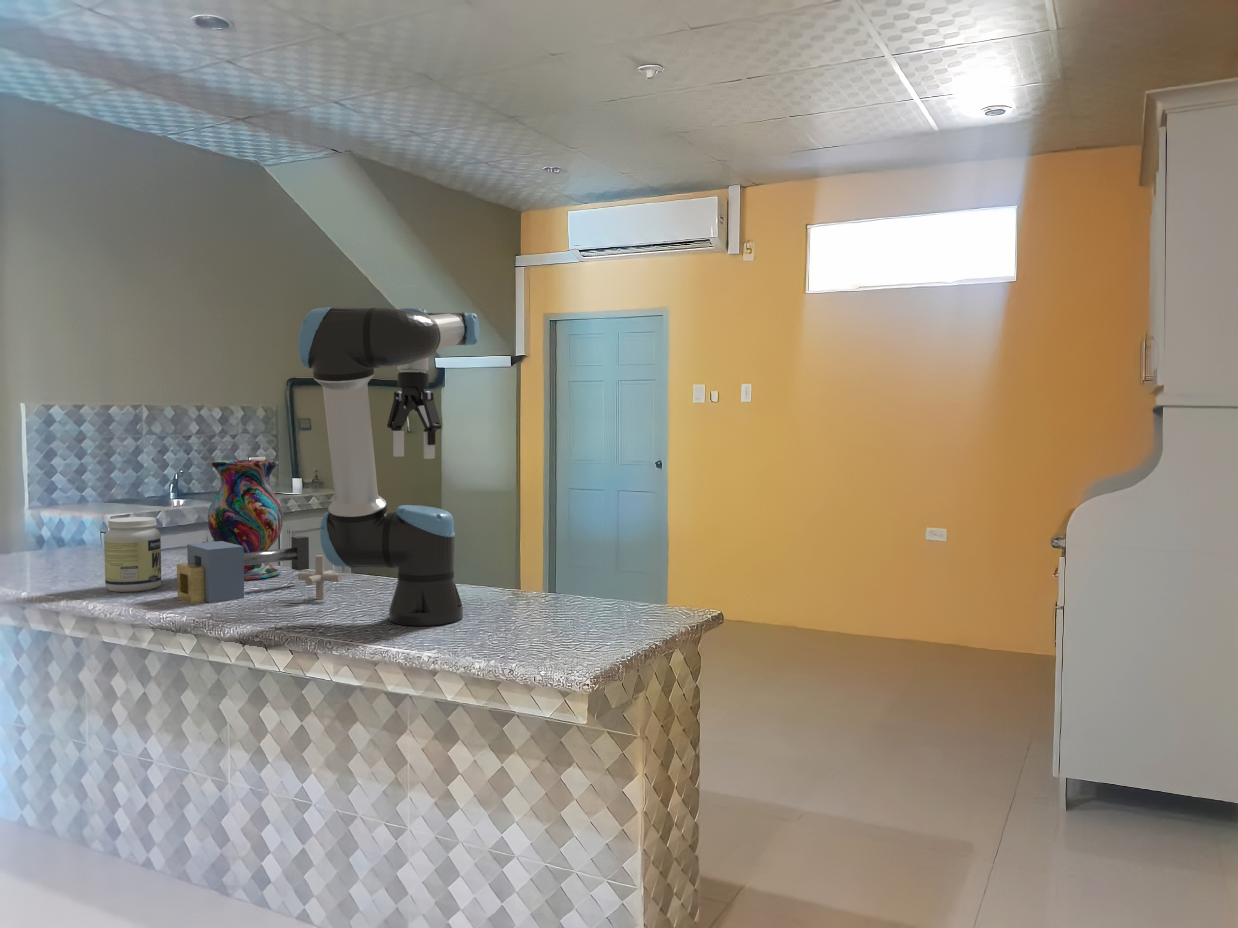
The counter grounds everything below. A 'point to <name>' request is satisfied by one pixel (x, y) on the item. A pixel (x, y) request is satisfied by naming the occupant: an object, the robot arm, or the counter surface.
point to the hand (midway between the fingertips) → (413, 457)
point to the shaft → (283, 554)
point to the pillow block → (220, 569)
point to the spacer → (191, 583)
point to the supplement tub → (132, 554)
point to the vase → (247, 510)
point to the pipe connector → (319, 577)
